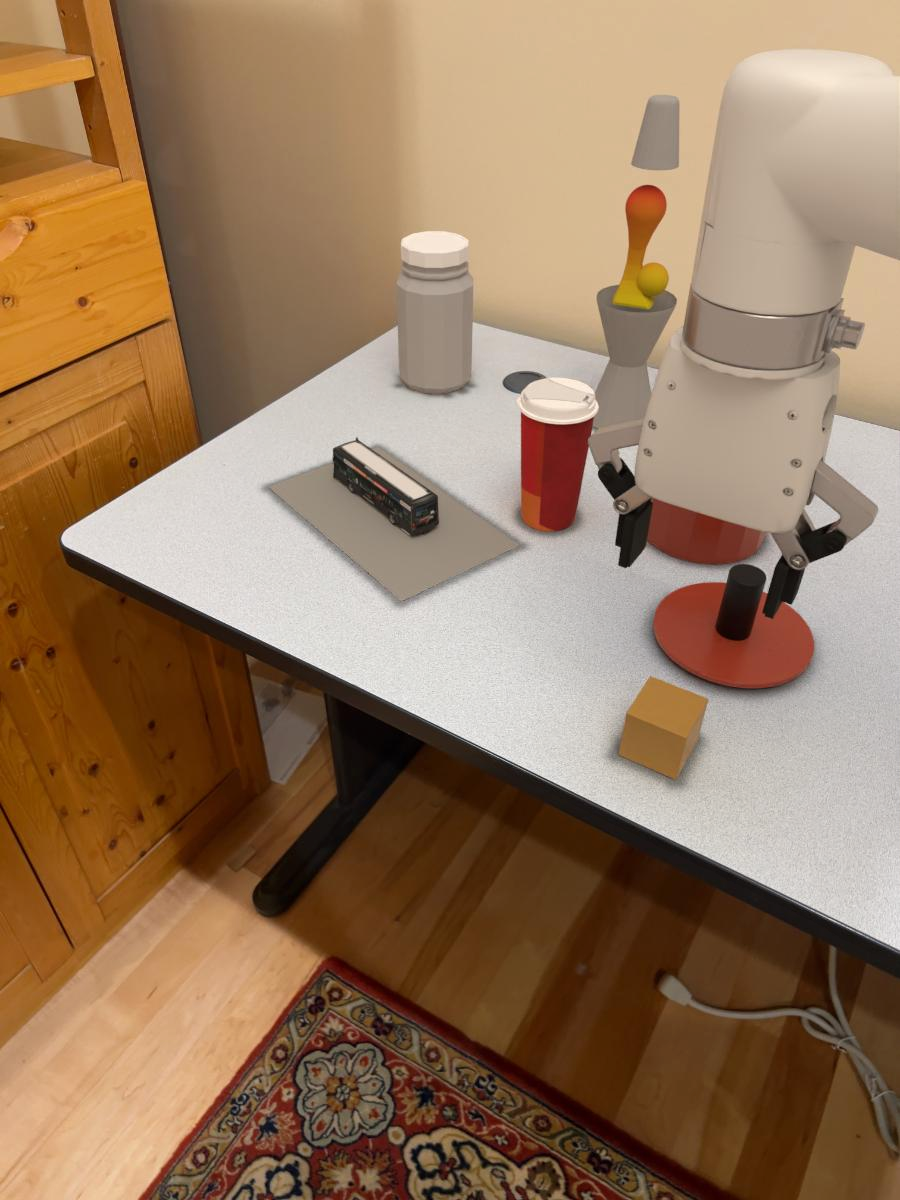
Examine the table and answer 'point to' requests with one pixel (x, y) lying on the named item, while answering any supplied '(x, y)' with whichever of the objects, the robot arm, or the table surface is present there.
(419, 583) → the flat grey placemat
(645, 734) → the block
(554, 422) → the paper cup
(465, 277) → the jar
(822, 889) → the table surface
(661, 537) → the pot
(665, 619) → the lid
